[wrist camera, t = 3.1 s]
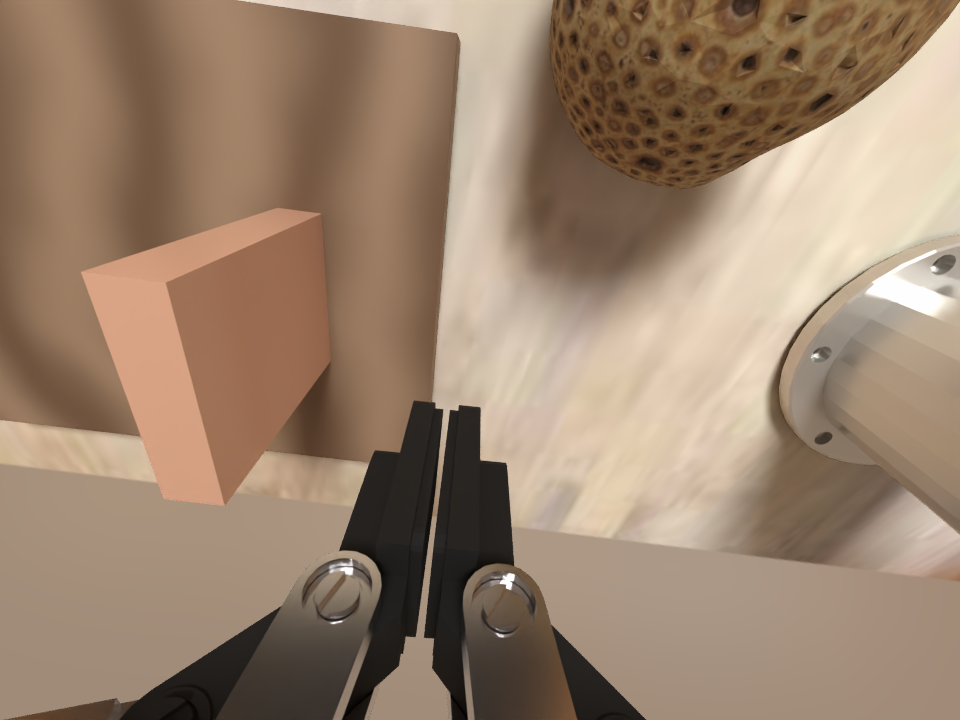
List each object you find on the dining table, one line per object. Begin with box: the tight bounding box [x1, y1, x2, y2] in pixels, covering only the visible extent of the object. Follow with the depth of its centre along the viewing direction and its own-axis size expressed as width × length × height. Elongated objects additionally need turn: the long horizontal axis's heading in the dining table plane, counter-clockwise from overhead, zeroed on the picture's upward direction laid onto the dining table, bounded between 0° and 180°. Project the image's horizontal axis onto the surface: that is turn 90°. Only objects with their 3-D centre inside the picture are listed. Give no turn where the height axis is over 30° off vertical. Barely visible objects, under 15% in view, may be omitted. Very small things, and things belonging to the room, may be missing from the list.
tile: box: [81, 208, 331, 506], centre depth 14 cm, size 2×7×9 cm, turn 173°
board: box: [0, 0, 460, 462], centre depth 19 cm, size 24×20×2 cm
